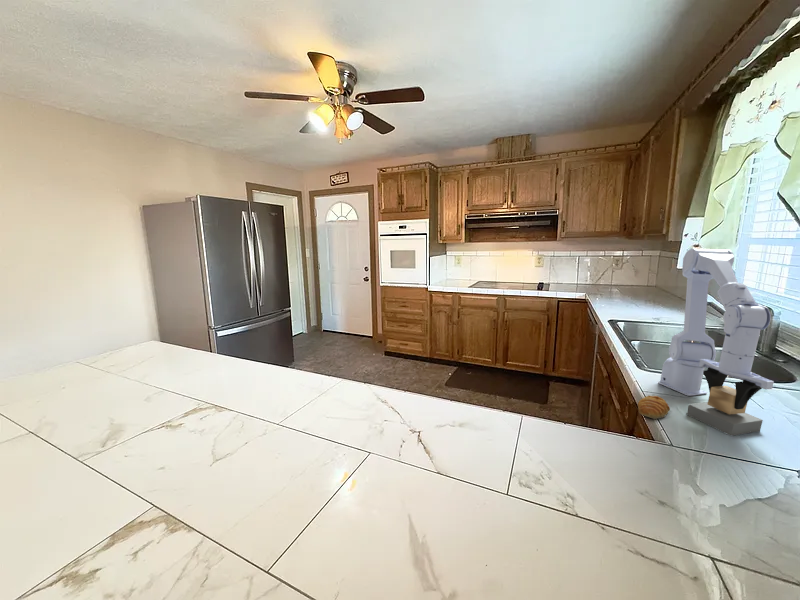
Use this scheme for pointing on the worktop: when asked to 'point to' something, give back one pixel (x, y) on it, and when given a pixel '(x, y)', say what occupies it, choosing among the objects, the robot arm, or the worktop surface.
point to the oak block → (724, 399)
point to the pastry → (653, 407)
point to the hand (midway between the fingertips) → (726, 403)
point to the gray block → (724, 419)
